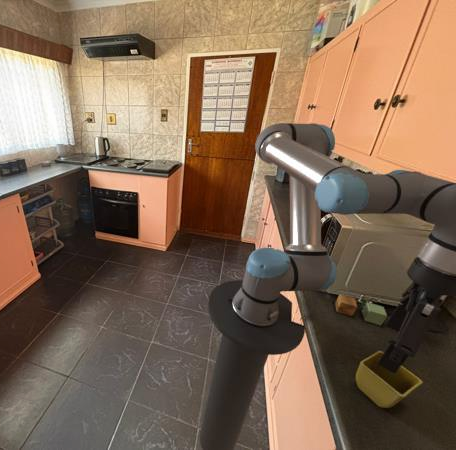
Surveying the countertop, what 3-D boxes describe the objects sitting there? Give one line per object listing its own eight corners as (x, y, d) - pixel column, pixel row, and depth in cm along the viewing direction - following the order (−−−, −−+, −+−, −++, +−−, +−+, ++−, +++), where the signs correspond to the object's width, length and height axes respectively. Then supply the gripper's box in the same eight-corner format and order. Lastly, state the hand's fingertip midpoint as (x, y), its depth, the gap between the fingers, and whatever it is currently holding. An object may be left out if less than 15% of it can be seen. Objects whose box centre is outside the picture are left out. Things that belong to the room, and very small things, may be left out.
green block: (364, 320, 83) (370, 310, 81) (361, 311, 87) (367, 302, 85) (381, 325, 81) (387, 316, 79) (377, 316, 85) (383, 306, 83)
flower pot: (365, 371, 67) (380, 349, 63) (405, 403, 60) (424, 381, 56) (345, 384, 64) (359, 362, 60) (384, 419, 57) (403, 397, 53)
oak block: (336, 311, 86) (341, 302, 84) (335, 303, 90) (339, 293, 88) (351, 316, 84) (357, 306, 82) (349, 307, 88) (354, 298, 86)
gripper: (488, 316, 33) (410, 404, 43) (470, 248, 49) (416, 324, 58) (412, 288, 38) (357, 373, 47) (418, 235, 54) (376, 307, 63)
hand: (389, 346), depth 53 cm, fingers open, 13 cm apart
